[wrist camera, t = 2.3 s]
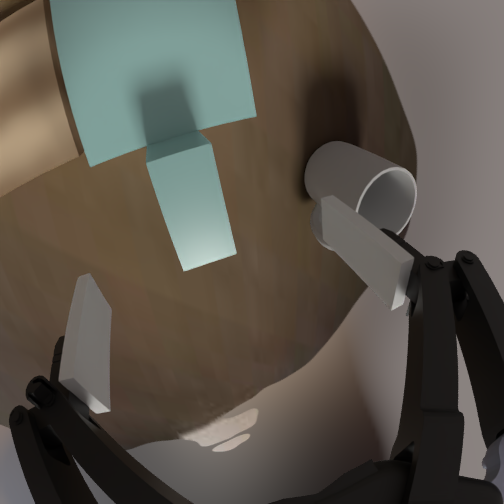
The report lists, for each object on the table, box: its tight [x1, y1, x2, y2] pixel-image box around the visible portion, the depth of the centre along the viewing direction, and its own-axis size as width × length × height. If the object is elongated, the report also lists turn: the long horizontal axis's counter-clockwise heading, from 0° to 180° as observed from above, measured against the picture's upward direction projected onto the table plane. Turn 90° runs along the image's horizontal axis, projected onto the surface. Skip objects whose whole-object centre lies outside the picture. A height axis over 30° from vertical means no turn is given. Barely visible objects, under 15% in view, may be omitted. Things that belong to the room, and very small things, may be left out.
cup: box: [305, 141, 417, 251], centre depth 26 cm, size 7×10×9 cm
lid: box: [50, 0, 256, 271], centre depth 13 cm, size 21×11×6 cm, turn 11°
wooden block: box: [0, 0, 84, 197], centre depth 14 cm, size 14×12×3 cm
